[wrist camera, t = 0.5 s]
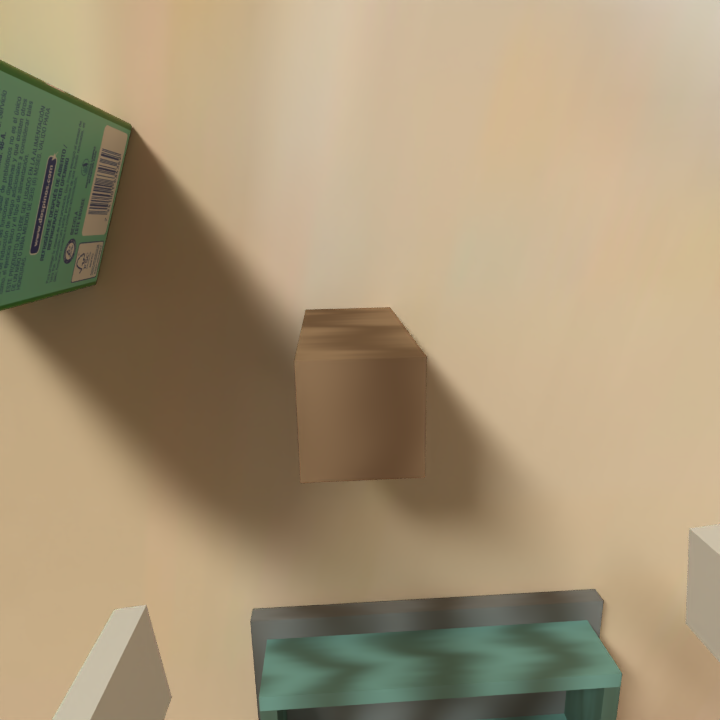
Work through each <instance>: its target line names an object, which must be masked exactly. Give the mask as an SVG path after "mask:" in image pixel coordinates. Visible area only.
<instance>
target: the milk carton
mask: <svg viewBox="0 0 720 720" xmlns="http://www.w3.org/2000/svg"><path fill="white" fill-rule="evenodd" d="M131 128H132V126H131V125H130V124H129V123H127V122H125V121H123V120H121V119H119V118H117V117H115V116H113V115H111V114H109V113H107V112H105V111H103V110H101V109H99V108H97V107H95V106H93V105H91V104H89V103H87V102H85V101H83V100H81V99H79V98H77V97H74V96H72V95H70V94H68V93H66V92H64V91H62V90H60V89H58V88H56V87H54V86H52V85H50V84H48V83H46V82H44V81H42V80H40V79H38V78H36V77H34V76H32V75H30V74H28V73H26V72H24V71H22V70H20V69H18V68H16V67H14V66H12V65H10V64H8V63H6V62H4V61H2V60H0V311H1V310H5V309H9V308H12V307H16V306H20V305H23V304H27V303H30V302H34V301H38V300H41V299H45V298H49V297H52V296H56V295H59V294H63V293H67V292H70V291H74V290H78V289H81V288H85V287H89V286H92V285H95V284H96V281H97V276H98V272H99V268H100V263H101V259H102V255H103V250H104V246H105V242H106V237H107V233H108V228H109V224H110V220H111V215H112V211H113V207H114V202H115V198H116V194H117V189H118V185H119V181H120V176H121V172H122V167H123V163H124V159H125V154H126V150H127V146H128V141H129V137H130V133H131Z"/></svg>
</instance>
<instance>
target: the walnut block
mask: <svg viewBox="0 0 720 720" xmlns="http://www.w3.org/2000/svg"><path fill="white" fill-rule="evenodd" d="M294 369H295V389H296V409H297V428H298V448H299V467H300V483H312V482H334V481H356V480H377V479H399V478H421V477H425V447H426V375H427V357H426V355H425V354H424V353H423V351H422V350H421V349H420V347H419V346H418V345H417V343H416V342H415V340H414V339H413V338H412V336H411V335H410V334H409V332H408V331H407V330H406V328H405V327H404V326H403V324H402V323H401V322H400V320H399V319H398V318H397V316H396V315H395V314H394V312H393V311H392V310H391V308H390V307H387V308H351V309H315V310H306V311H305V315H304V320H303V324H302V329H301V333H300V337H299V342H298V346H297V351H296V355H295V360H294Z"/></svg>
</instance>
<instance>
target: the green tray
mask: <svg viewBox="0 0 720 720" xmlns="http://www.w3.org/2000/svg"><path fill="white" fill-rule="evenodd" d="M602 609H603V600H602V598H601V597H600V595H599V594H598V593H597V591H596V590H595V589H590V590H573V591H555V592H538V593H521V594H503V595H486V596H468V597H451V598H434V599H416V600H399V601H382V602H364V603H347V604H330V605H312V606H295V607H278V608H260V609H253V611H252V616H251V621H250V622H251V634H252V646H253V658H254V670H255V682H256V694H257V706H258V718H259V720H616V717H617V709H618V701H619V694H620V686H621V678H622V673H621V671H620V670H619V668H618V666H617V665H616V663H615V662H614V660H613V659H612V657H611V656H610V654H609V653H608V651H607V650H606V648H605V647H604V645H603V643H602V642H601V640H600V639H599V636H600V627H601V618H602Z"/></svg>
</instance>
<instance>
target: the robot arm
mask: <svg viewBox="0 0 720 720" xmlns="http://www.w3.org/2000/svg"><path fill="white" fill-rule="evenodd" d="M686 624H687V626H688V627H689V628H690V629H691V630H692V631H693V632H694V634H695V635H696V636H697V637H698V638H699V639H700V640H701V642H702V643H703V644H704V645H705V646H706V647H707V649H708V650H709V651H710V652H711V653H712V654H713V655H714V657H715V658H716V659H717V660H718V661H719V662H720V524H717V525H710V526H703V527H696V528H689V548H688V575H687V602H686ZM171 698H172V696H171V693H170V689H169V685H168V682H167V678H166V675H165V671H164V667H163V664H162V660H161V656H160V653H159V649H158V645H157V642H156V638H155V635H154V631H153V627H152V624H151V620H150V616H149V613H148V609H147V605H142V606H135V607H128V608H121V609H114V611H113V613H112V614H111V616H110V618H109V620H108V621H107V623H106V625H105V627H104V628H103V630H102V632H101V634H100V636H99V637H98V639H97V641H96V643H95V644H94V646H93V648H92V650H91V651H90V653H89V655H88V657H87V659H86V660H85V662H84V664H83V666H82V667H81V669H80V671H79V673H78V674H77V676H76V678H75V680H74V682H73V683H72V685H71V687H70V689H69V690H68V692H67V694H66V696H65V697H64V699H63V701H62V703H61V705H60V706H59V708H58V710H57V712H56V713H55V715H54V717H53V719H52V720H164V718H165V715H166V712H167V709H168V706H169V703H170V701H171Z"/></svg>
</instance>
